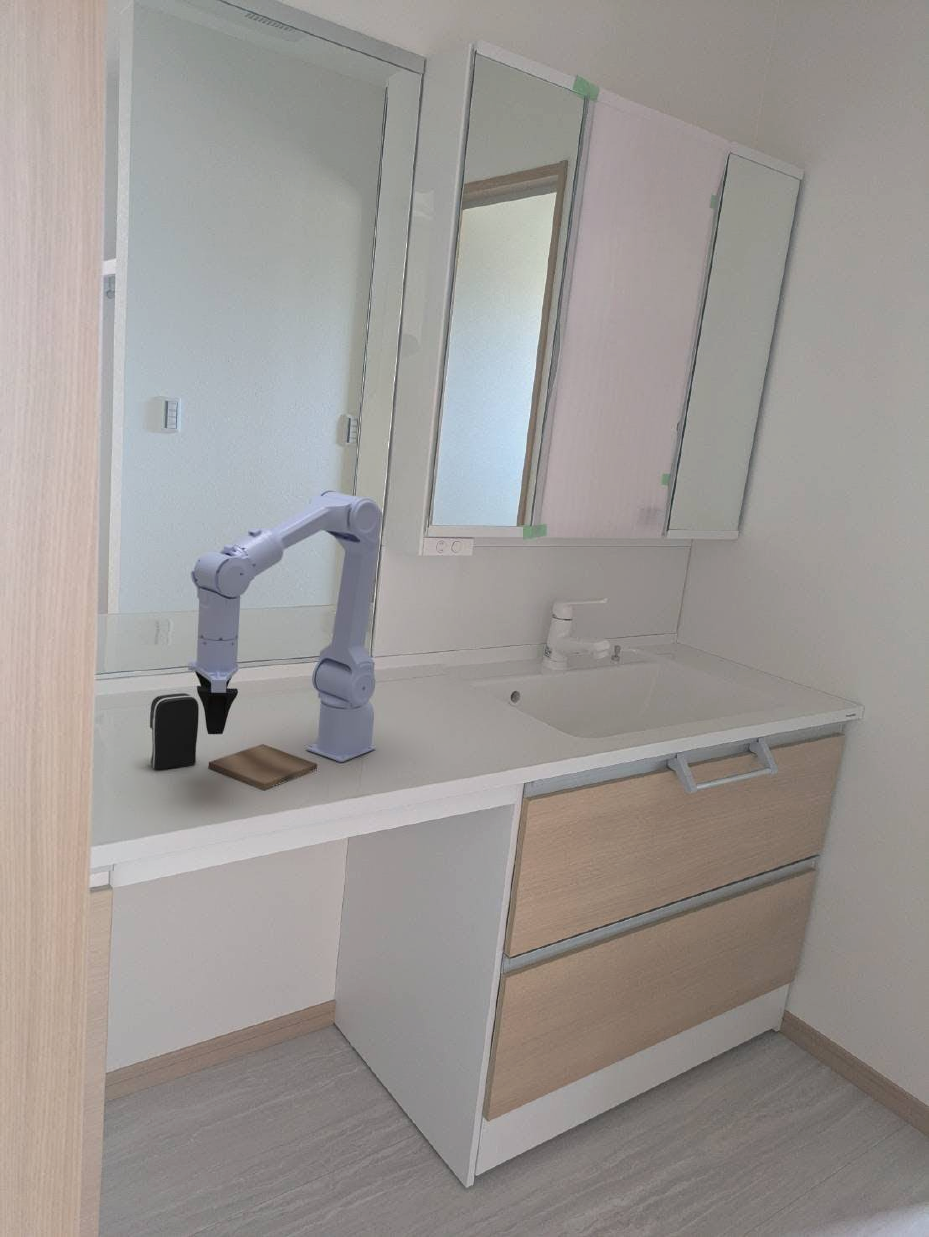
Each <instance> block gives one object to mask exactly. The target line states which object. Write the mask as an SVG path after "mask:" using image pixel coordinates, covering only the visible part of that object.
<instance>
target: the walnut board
mask: <svg viewBox="0 0 929 1237" xmlns="http://www.w3.org/2000/svg"><path fill="white" fill-rule="evenodd" d="M208 769H209V770H212V771H214V772H218V773H219V774H222V775H225V776H227V777H230V778H232V779H235V780H237V779H238V780H237V781H240V780H241V781H240V782H242V783H245V784H247V785H250V784H251V785H250V786H252V785H254V786H253V787H255V786H256V787H255V788H257V787H259V788H258V789H260V788H262V789H267V788H269V789H271V788H270V787H272V786H273V785H276V784H279V783H282V782H284V781H287V780H289V779H292V780H294V779H293V778H295V777H297V776H300V775H302V774H305V775H307V774H309V773H308V772H310V771H312V772H314V771H313V770H315V769H317V770H318V763H316V762H313V761H309V760H308V759H305V758H301V757H298V756H296V755H294V754H291V753H289V752H286V751H283V750H280V749H278V748H274V747H272V746H270V745H266V744H258V745H255V746H253V747H250V748H246V749H243V750H241V751H238V752H235V753H232V754H229V755H225V756H223V757H220V758H219V757H218V758H217V759H214V760H211V761H208ZM315 771H316V770H315ZM306 773H307V774H306ZM310 773H311V772H310ZM302 776H303V775H302ZM300 777H301V776H300ZM297 778H298V777H297ZM295 779H296V778H295ZM289 781H290V780H289ZM287 782H288V781H287ZM284 783H285V782H284ZM282 784H283V783H282ZM279 785H280V784H279ZM272 788H273V787H272ZM262 789H261V790H262ZM267 790H268V789H267Z"/></svg>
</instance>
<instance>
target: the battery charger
mask: <svg viewBox="0 0 929 1237" xmlns="http://www.w3.org/2000/svg"><path fill="white" fill-rule="evenodd" d="M199 708H200V707H199V702H198V700H197V699H196V698H195V697H194V696H192V695H191V694H188V693H183V692H182V693H181V692H180V693H171V694H170V693H169V694H163V695H158V696H156V697H155V698H153V700H152V701H151V704H150V713H149V727H150V729H151V732H152V733H151V735H152V736H151V737H152V738H151V739H152V752H151V758H150V759H151V760H150V762H151V763H150V764H151V766H152V768H153V769H155V770H165V769H166V770H168V769H174V768H181V767H187V766H191V765H195V764H196V763H197V762H196V761H197V760H196V756H197V741H198V732H199V719H200V718H199V715H200V714H199V712H200V710H199Z"/></svg>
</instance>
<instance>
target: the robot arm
mask: <svg viewBox="0 0 929 1237" xmlns="http://www.w3.org/2000/svg"><path fill="white" fill-rule="evenodd" d="M382 521H383V512H382V510H381V509H380V507H379V505H378V504H377V502H375V501H374V500H373V499H372V498H369V497H360V496H355V495H352V494H347V493H346V494H345V493H341V492H337V491H334V490H331V489H327V490H324V491H321V492H320V493H319V494H317V495H313V496H312V497H311V498H310V499H309V502H308V504H307V505H305V506H304V507H303V508H302V509H300V510H298V511H297V512H296V513H294V514H293V515H291V516H290V517H287V519H285V520H284V521H283V522H281V523H280V524H278V525H276V526H275V527H274V528H272V529H271V530H270V529H268V528H264V527H261V528H260V527H259V528H257V527H252V528H250V529H249V530H248V531H247V532H248V534H247V535H245V536H244V537H242V538H240V539H238V540H236V541H235V542H233V543H232V544H231V543H227V544H226V545H224V546H223V549H222V550H221V551H220V552H219V551H218V552H217V551H209V552H208V551H207V552H206V553H204V554H203V555H202V556H200V557H199V558H198V559H197V561H196V563H195V565H194V568H193V570H191V571H190V575H191V576H190V577H191V580H192V582H193V584H194V586H195V587H196V590H197V593H196V594H197V595H196V597H197V599H198V618H197V620H198V621H197V622H198V623H197V624H198V626H197V644H196V661H194V662H188V663H187V669H188V671H192V672H193V671H194V672H195V675H196V677H197V679H198V682H199V685H197V686H196V693H197V695H198V697H199V699H200V701H201V703H202V707H203V713H204V720H205V727H206V732H207V734H208V735H222V734H223V735H224V732H225V728H226V724H227V721H228V720H227V719H228V716H229V713H230V709H231V707H232V705H233V703H234V701H235V699H236V698H237V696H238V694H239V689H238V688H229V684H230V681H231V680H232V677H233V676H234V675H235V674H236V673H237V672H239V664H238V653H239V652H238V651H239V650H238V648H239V630H240V629H239V628H240V627H239V626H240V609H241V595H244V593H245V592H246V591H247V590H248V588H249V586H250V584H251V582H252V581H253V580H254V579H255V577H257V576H258V575H260V574H262V573H263V572H265V571H267V570H269V569H270V568H272V567H273V566H274V565H277V563H279V562H281V560H282V558H283V556H284V550H287V549H288V548H290V547H292V546H294V545H296V544H298V543H300V542H302V541H303V540H305V539H308V538H309V537H311V536H313V535H315V534H317V533H319V532H321V531H324V532H326V533H328V534H329V535H331V536H332V537H334V538H335V539H336V541H337V542H338V543H339V545H340V546H341V547H342V549H343V550H344V557H343V566H342V571H341V578H340V585H339V592H338V598H337V603H336V604H337V606H336V613H335V618H334V625H333V632H332V638H331V643H330V644H329V645H327V646H325V647H324V648H322V649H321V650H320V651H319V657H318V661H317V663H316V665H315V667H314V668H313V672H312V676H311V677H312V678H311V683H312V686H313V688H314V690H316V691H317V698H318V699H320V703H319V705H320V706H319V717H318V732H317V743H312V744H310V745H307V746H306V747H305V750H306V751H309V752H312V753H313V754H317V755H320V756H322V757H325V758H329V759H331V760H333V761H336V762H339V763H343V762H346V761H347V760H350V759H353V758H356V757H358V756H362V755H363V754H366V753H368V752H371V751H374V750H375V749H376V746H375V745H373V733H374V722H375V721H374V720H375V710H374V707H373V704H372V702H371V701H370V699H371V698H372V697H373V695H374V693H375V689H376V676H375V665H376V663H375V661H374V659H373V657H372V656H371V655H370V654H369V652H368V651H367V649H366V648H365V646H366V645H365V644H366V637H367V632H368V624H369V617H370V612H371V606H372V598H373V593H374V587H375V586H374V585H375V579H376V573H377V572H376V571H377V566H378V560H379V552H380V547H381V546H380V545H381V544H380V543H381V540H380V534H381V528H382Z"/></svg>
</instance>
